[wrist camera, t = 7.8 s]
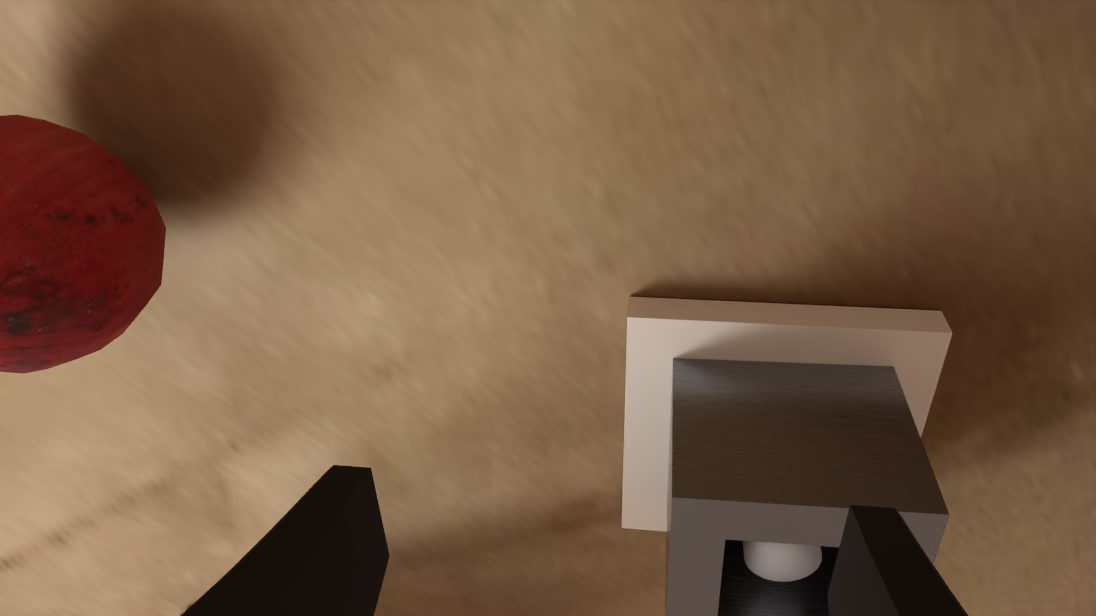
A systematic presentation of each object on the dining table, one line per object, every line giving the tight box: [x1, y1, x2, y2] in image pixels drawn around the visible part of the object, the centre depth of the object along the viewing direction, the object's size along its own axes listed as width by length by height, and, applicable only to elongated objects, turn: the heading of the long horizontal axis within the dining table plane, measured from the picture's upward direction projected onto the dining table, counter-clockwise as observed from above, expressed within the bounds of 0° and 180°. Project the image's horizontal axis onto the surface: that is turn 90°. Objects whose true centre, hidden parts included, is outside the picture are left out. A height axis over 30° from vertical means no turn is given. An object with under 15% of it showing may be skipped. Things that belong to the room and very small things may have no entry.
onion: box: [0, 115, 166, 373], centre depth 18 cm, size 6×6×8 cm
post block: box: [622, 297, 952, 582], centre depth 21 cm, size 8×8×5 cm
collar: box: [665, 358, 949, 616], centre depth 20 cm, size 6×6×5 cm
